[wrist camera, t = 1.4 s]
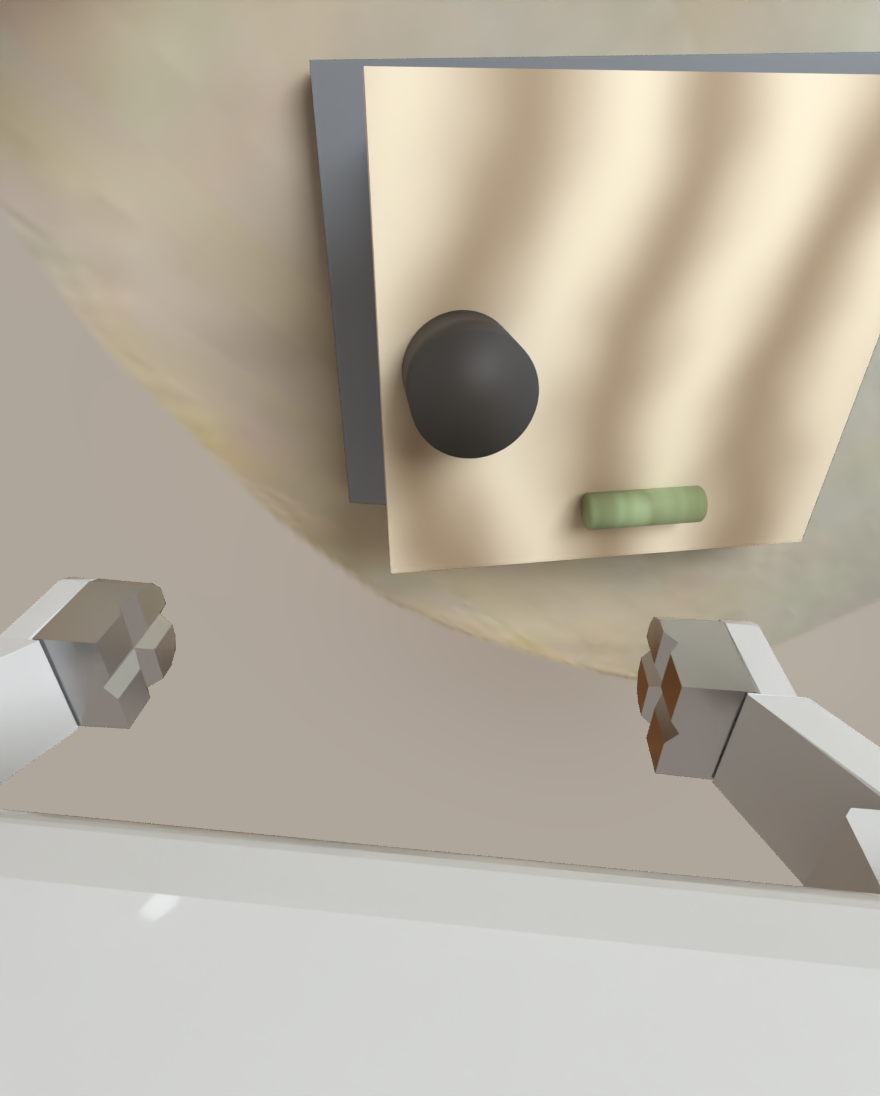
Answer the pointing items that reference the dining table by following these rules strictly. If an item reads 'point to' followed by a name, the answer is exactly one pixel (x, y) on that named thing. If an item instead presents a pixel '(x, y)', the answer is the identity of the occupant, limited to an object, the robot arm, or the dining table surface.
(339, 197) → the base
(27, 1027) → the robot arm
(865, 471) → the dining table surface
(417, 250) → the plate
